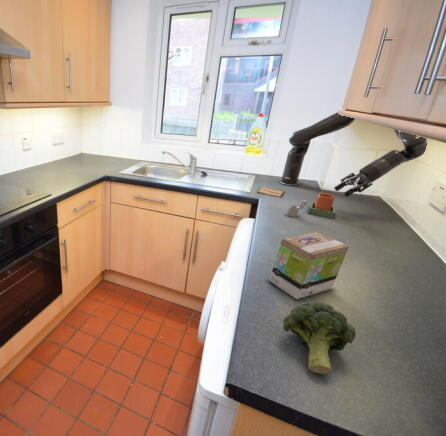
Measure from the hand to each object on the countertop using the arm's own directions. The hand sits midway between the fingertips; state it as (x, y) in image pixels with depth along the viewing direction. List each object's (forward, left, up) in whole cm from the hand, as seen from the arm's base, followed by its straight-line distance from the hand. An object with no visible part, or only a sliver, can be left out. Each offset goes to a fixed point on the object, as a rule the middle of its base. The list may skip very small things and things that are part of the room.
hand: (339, 192), depth 139 cm
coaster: (-18, -31, -11) cm, 37 cm away
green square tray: (+2, -5, -11) cm, 12 cm away
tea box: (+77, -7, -11) cm, 79 cm away
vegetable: (+104, -2, -11) cm, 105 cm away
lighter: (+15, -15, -11) cm, 24 cm away
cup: (+2, -5, -11) cm, 12 cm away
